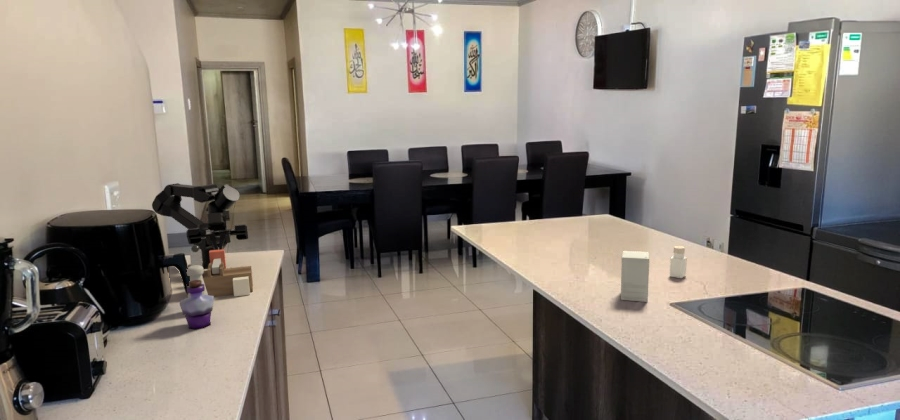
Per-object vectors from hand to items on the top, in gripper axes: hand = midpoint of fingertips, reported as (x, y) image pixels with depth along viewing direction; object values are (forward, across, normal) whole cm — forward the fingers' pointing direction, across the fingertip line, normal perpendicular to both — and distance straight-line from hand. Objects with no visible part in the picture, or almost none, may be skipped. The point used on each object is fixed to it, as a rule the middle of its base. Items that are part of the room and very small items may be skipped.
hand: (218, 255), depth 188 cm
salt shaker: (+27, -4, -16) cm, 32 cm away
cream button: (+19, +7, -9) cm, 22 cm away
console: (+16, +1, -5) cm, 16 cm away
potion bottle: (+35, -3, -24) cm, 42 cm away
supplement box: (+52, +112, -41) cm, 130 cm away
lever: (+13, -5, -12) cm, 18 cm away
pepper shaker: (+44, +136, -33) cm, 147 cm away
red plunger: (+9, 0, -5) cm, 10 cm away
